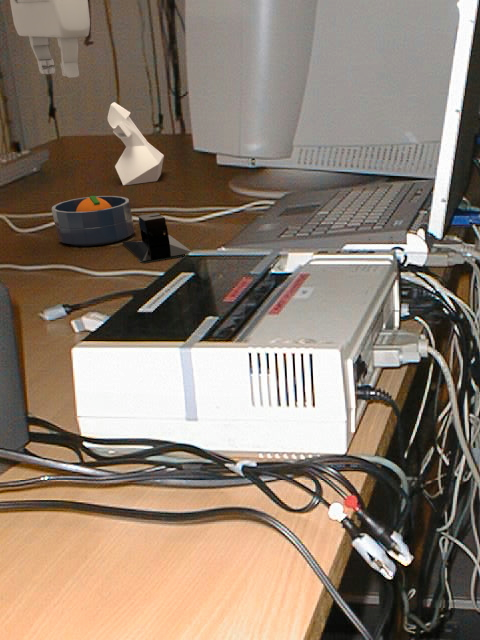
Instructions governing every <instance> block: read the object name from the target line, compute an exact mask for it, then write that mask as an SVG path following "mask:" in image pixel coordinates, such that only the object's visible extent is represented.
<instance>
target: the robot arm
mask: <svg viewBox="0 0 480 640" xmlns="http://www.w3.org/2000/svg"><path fill="white" fill-rule="evenodd" d="M9 3H10V9H11V16H12V21H13V26H14V29H15V31H16V33H17V35H18V36H19V37H28V39H29V43H30V47H31V50H32V52H33V55H34V57H35V60H36V62H37V66H38V71H39V73H40V74H41V75H54V74H55V73H56V70H57V69H56V67H55V66H56V65H55V61H54V59H53V58H52V55H51V51H50V47H49V45H50V42H49V41H50V40H49V38H56V40H57V45H58V48H59V49H60V57H61V62H59V64H60V69H61V74H62V76H63V77H64V78H70V79H72V78H79V76H80V70H79V69H80V68H79V63H78V61H79V43H78V42H79V41H78V38H87V37H89V34H90V28H91V19H90V18H91V17H90V9H89V1H88V0H9Z"/></svg>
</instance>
